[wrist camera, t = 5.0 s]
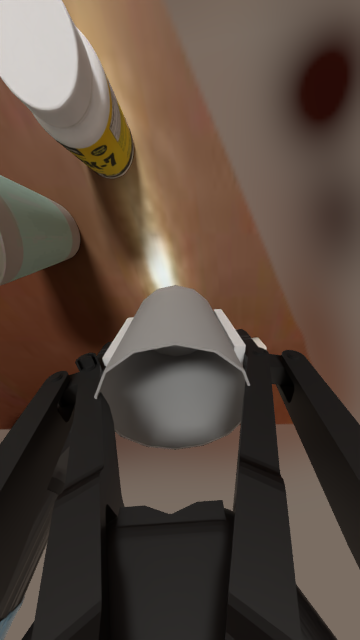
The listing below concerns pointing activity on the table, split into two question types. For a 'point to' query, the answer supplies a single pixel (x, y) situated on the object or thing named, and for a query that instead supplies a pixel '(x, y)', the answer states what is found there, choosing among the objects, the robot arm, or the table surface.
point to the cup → (174, 374)
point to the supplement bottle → (63, 83)
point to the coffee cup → (32, 232)
